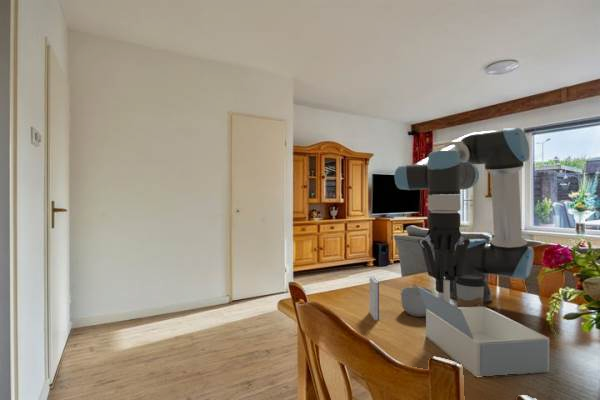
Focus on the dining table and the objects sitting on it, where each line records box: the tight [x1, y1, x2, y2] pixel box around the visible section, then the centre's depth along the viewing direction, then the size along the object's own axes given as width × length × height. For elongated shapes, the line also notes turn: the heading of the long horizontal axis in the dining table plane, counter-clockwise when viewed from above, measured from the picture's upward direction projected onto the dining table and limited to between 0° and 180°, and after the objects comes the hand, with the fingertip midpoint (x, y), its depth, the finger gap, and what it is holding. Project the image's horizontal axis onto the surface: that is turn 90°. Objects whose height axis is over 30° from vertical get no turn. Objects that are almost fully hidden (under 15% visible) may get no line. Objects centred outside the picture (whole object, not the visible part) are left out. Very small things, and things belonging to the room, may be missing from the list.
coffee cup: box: [456, 274, 485, 308], centre depth 105 cm, size 8×8×15 cm
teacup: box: [400, 285, 435, 317], centre depth 116 cm, size 14×11×8 cm
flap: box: [416, 286, 474, 339], centre depth 84 cm, size 7×20×1 cm
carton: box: [425, 306, 550, 376], centre depth 85 cm, size 19×23×8 cm
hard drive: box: [369, 276, 380, 321], centre depth 112 cm, size 2×8×12 cm, turn 0°
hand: (444, 304), depth 84 cm, fingers closed
